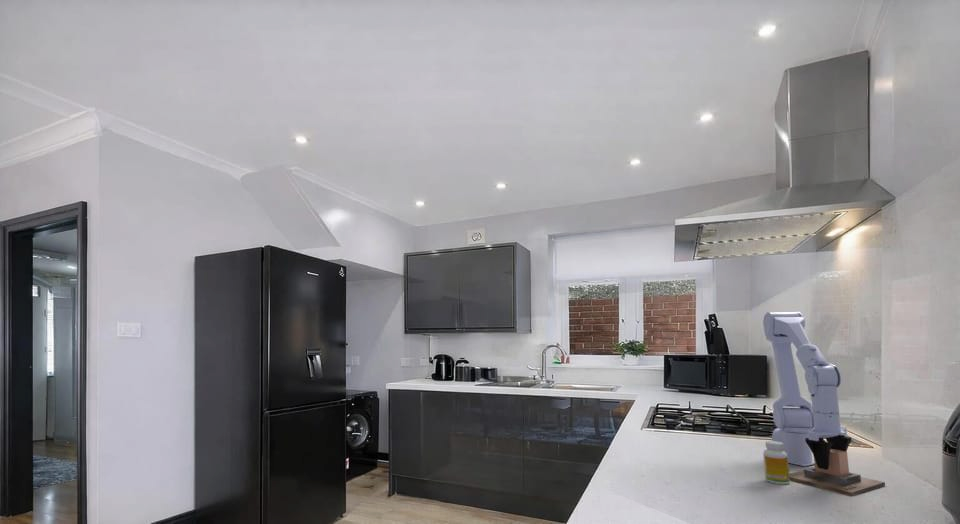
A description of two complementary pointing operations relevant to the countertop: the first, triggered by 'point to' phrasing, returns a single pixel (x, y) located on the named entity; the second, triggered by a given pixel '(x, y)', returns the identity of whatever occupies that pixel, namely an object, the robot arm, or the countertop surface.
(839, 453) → the plug block
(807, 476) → the socket board
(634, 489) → the countertop surface
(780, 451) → the supplement bottle
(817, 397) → the robot arm
